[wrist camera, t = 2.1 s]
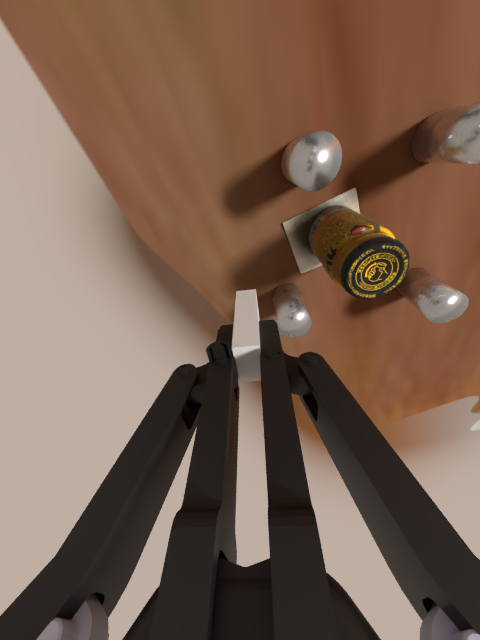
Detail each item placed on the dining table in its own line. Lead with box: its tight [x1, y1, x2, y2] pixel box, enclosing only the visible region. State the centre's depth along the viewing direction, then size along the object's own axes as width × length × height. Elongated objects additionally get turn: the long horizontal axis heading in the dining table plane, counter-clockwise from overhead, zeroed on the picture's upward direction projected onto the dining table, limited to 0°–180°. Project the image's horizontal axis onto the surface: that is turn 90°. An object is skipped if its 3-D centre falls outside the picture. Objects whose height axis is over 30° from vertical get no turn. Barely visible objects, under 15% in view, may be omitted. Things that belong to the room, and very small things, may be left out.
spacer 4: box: [396, 268, 469, 323], centre depth 29 cm, size 4×4×7 cm
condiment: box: [283, 187, 409, 299], centre depth 24 cm, size 7×8×12 cm
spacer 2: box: [281, 131, 342, 191], centre depth 22 cm, size 4×4×7 cm
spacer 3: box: [411, 102, 480, 164], centre depth 20 cm, size 4×4×7 cm
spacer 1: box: [273, 284, 311, 338], centre depth 31 cm, size 4×4×7 cm
